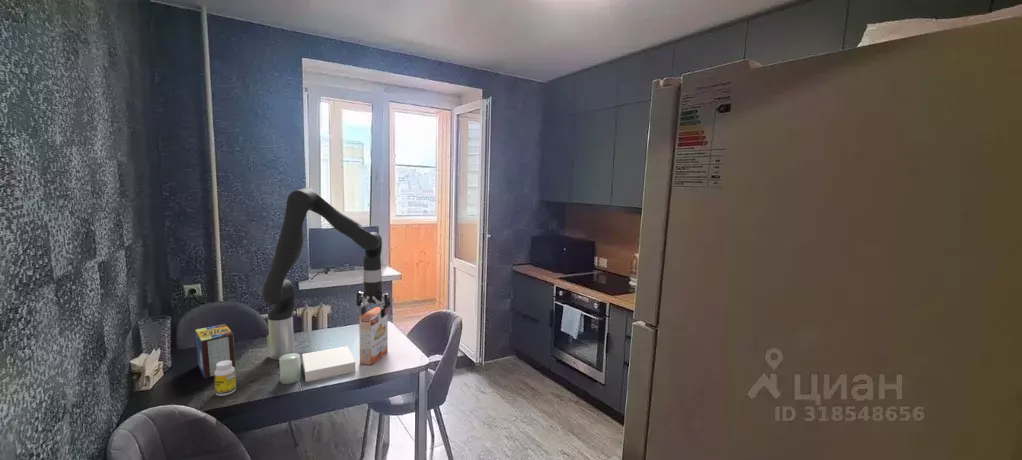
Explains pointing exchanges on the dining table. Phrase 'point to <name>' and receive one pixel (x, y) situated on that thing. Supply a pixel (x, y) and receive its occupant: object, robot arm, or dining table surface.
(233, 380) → the pill bottle
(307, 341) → the dining table surface
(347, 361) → the block
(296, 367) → the pale green rounded block
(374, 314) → the cracker box
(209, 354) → the protein box
